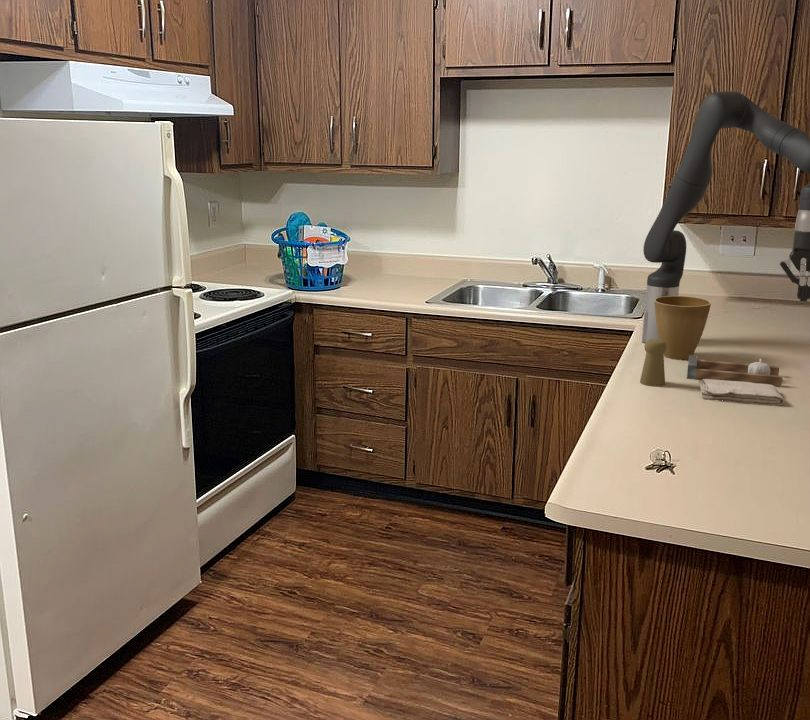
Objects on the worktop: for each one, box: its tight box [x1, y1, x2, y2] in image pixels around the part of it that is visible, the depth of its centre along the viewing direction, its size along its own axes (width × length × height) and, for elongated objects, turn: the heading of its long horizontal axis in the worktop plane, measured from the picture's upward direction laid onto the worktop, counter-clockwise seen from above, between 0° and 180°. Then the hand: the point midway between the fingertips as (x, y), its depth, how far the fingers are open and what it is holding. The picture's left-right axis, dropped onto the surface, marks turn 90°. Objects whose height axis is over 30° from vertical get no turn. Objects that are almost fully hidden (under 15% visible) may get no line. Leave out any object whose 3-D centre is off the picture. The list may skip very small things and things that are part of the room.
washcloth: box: [698, 379, 786, 407], centre depth 193 cm, size 12×18×3 cm, turn 75°
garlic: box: [748, 358, 770, 375], centre depth 206 cm, size 6×5×5 cm
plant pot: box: [654, 295, 712, 361], centre depth 227 cm, size 15×15×16 cm
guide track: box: [686, 354, 783, 388], centre depth 209 cm, size 22×11×4 cm, turn 70°
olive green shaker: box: [639, 339, 667, 387], centre depth 202 cm, size 6×6×11 cm
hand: (803, 300), depth 199 cm, fingers closed
